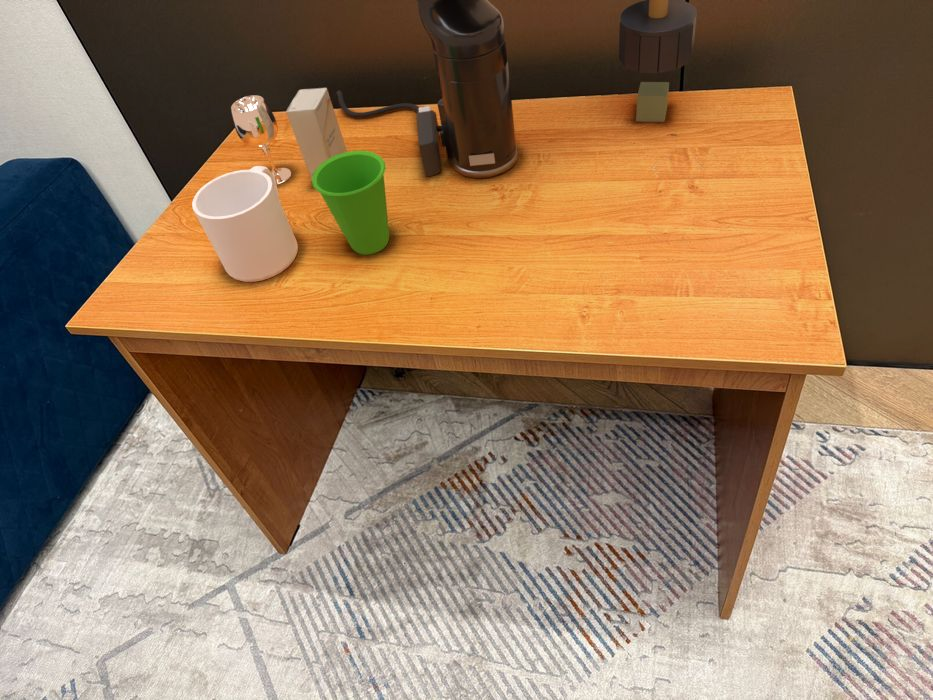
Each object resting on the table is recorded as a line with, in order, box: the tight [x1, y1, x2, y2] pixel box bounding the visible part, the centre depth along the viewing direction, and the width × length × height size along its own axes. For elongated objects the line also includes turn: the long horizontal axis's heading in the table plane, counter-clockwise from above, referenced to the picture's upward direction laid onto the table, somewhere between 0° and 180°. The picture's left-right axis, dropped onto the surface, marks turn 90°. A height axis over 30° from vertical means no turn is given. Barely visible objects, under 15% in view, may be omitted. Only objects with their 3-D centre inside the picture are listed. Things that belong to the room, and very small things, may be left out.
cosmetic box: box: [285, 87, 348, 181], centre depth 99 cm, size 6×4×12 cm
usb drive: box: [416, 105, 442, 178], centre depth 102 cm, size 5×12×3 cm
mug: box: [191, 165, 299, 283], centre depth 90 cm, size 13×10×10 cm
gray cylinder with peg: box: [618, 0, 698, 74], centre depth 91 cm, size 10×10×13 cm
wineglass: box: [230, 94, 292, 186], centre depth 101 cm, size 6×6×12 cm
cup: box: [311, 150, 390, 256], centre depth 87 cm, size 9×9×11 cm
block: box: [635, 81, 670, 123], centre depth 101 cm, size 4×4×4 cm
